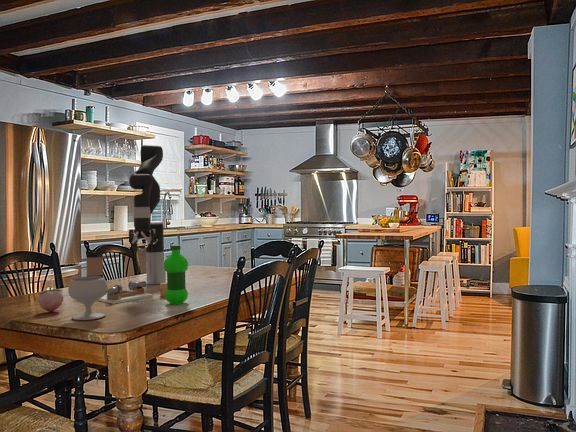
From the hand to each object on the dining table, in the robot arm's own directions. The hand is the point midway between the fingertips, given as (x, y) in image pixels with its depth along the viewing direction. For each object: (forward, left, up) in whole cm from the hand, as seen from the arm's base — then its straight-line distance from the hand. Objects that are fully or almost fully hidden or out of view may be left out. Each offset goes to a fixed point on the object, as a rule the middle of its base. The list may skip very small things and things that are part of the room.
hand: (142, 251), depth 243 cm
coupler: (-6, +8, -21) cm, 23 cm away
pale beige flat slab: (+9, -4, -21) cm, 23 cm away
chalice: (+40, +23, -21) cm, 51 cm away
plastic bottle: (+2, +27, -21) cm, 35 cm away
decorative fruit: (+44, 0, -21) cm, 49 cm away
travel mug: (+8, -30, -21) cm, 37 cm away
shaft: (+1, -4, -20) cm, 20 cm away
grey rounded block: (+16, +1, -20) cm, 25 cm away
